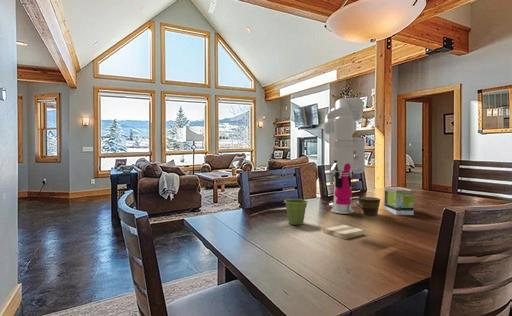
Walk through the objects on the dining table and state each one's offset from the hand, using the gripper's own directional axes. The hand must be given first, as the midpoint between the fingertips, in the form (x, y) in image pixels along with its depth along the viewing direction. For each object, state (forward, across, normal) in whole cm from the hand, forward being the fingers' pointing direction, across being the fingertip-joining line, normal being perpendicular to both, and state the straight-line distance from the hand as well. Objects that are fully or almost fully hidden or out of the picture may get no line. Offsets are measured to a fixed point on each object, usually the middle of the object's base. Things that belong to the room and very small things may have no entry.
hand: (343, 186), depth 122 cm
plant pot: (+21, +5, -25) cm, 33 cm away
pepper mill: (+8, 0, 0) cm, 8 cm away
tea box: (+20, -57, -8) cm, 61 cm away
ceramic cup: (+20, -37, -14) cm, 45 cm away
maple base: (+20, 0, 0) cm, 20 cm away
